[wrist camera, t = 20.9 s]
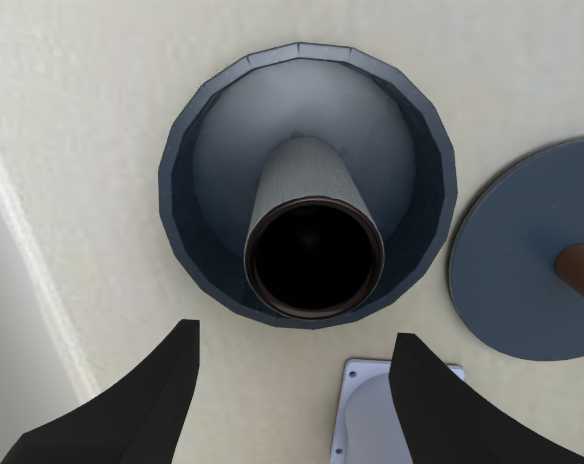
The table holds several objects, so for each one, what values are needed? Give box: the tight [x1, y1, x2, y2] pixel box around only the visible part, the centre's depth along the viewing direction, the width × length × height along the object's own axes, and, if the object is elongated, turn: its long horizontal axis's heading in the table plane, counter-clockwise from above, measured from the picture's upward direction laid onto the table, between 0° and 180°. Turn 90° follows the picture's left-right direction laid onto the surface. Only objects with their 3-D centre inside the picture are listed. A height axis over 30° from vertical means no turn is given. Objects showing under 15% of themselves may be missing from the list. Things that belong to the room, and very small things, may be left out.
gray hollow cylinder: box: [244, 136, 384, 321], centre depth 18 cm, size 4×4×10 cm
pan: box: [158, 42, 458, 330], centre depth 21 cm, size 13×13×5 cm
